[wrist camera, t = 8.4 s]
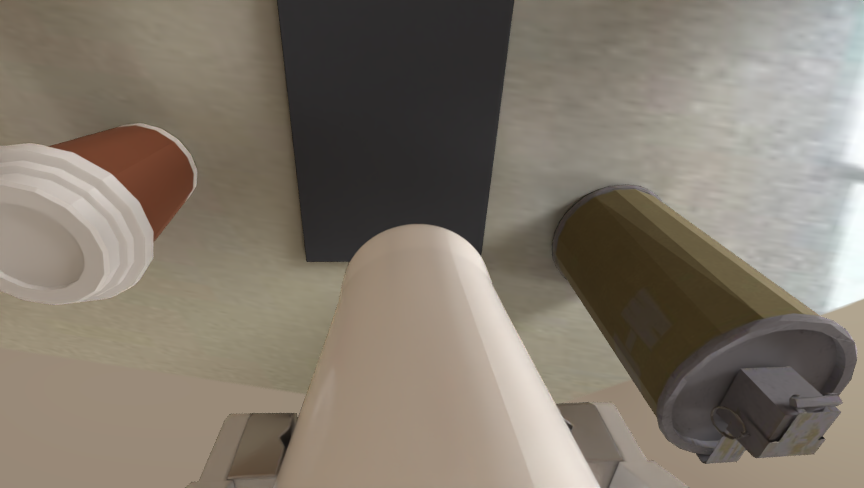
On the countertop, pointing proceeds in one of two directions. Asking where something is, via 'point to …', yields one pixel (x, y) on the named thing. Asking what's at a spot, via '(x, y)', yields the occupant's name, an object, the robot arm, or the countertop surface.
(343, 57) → the place mat
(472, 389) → the white tapered cylinder
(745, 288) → the canister
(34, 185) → the coffee cup
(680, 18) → the countertop surface
